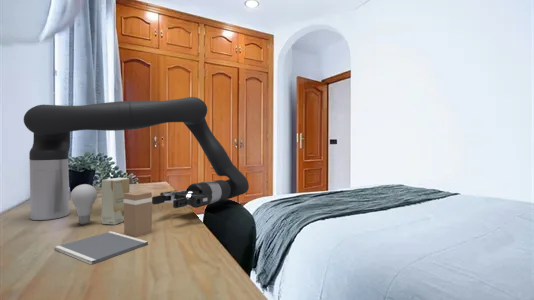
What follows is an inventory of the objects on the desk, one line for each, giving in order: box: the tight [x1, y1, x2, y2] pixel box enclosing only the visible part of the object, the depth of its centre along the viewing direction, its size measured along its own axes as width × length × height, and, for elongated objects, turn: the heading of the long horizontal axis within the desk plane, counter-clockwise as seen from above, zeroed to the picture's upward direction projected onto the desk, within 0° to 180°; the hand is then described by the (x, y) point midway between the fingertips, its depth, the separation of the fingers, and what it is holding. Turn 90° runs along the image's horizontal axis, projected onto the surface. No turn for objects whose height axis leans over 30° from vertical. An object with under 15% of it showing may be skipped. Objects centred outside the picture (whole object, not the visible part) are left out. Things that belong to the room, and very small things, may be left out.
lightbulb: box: [69, 183, 98, 225], centre depth 77 cm, size 6×6×11 cm
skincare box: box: [101, 177, 130, 226], centre depth 80 cm, size 6×4×12 cm
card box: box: [123, 190, 153, 238], centre depth 70 cm, size 5×5×10 cm
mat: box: [54, 231, 149, 265], centre depth 61 cm, size 14×12×1 cm
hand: (163, 202), depth 77 cm, fingers open, 8 cm apart
